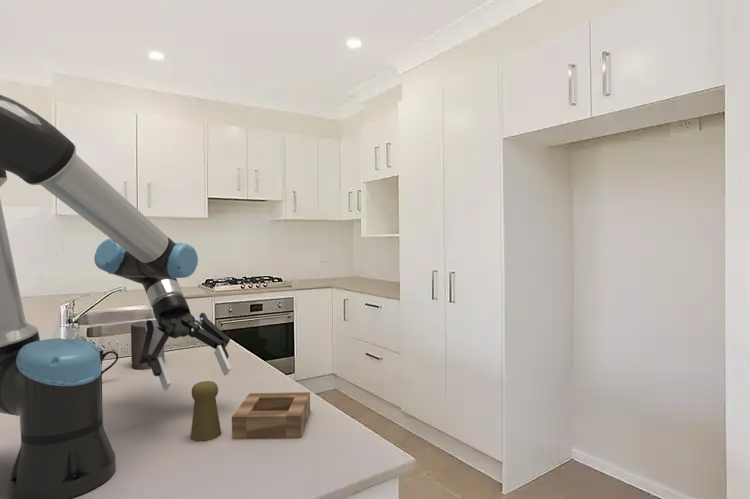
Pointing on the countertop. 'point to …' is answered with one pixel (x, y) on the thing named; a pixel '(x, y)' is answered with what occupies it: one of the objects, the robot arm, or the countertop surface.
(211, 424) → the cork
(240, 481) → the countertop surface
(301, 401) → the socket block
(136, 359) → the pillar candle
